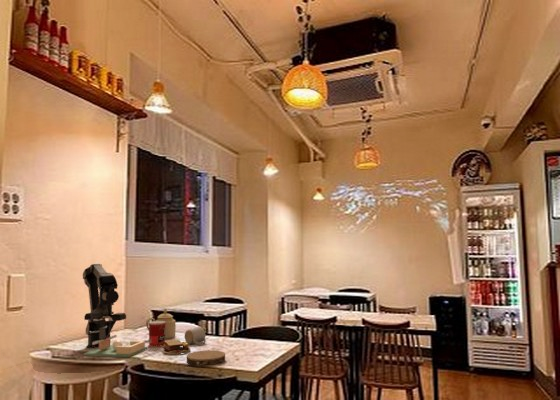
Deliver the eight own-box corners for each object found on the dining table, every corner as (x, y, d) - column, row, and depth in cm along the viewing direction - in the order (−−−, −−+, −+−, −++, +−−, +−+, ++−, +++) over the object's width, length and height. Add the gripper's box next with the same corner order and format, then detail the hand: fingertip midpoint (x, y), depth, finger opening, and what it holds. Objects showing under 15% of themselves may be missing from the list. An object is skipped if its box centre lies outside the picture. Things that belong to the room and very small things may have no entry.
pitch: (84, 355, 202) (84, 346, 202) (105, 347, 217) (105, 339, 218) (128, 357, 197) (128, 347, 197) (146, 349, 212) (146, 340, 213)
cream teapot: (160, 341, 231) (160, 311, 232) (144, 339, 236) (145, 310, 238) (179, 335, 244) (179, 307, 246) (164, 334, 249) (164, 306, 251)
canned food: (161, 346, 217) (161, 323, 219) (145, 346, 219) (146, 323, 220) (168, 343, 225) (168, 320, 226) (153, 342, 227) (153, 320, 228)
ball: (110, 351, 205) (110, 341, 206) (115, 348, 210) (116, 339, 210) (118, 351, 204) (119, 341, 205) (124, 349, 209) (124, 339, 209)
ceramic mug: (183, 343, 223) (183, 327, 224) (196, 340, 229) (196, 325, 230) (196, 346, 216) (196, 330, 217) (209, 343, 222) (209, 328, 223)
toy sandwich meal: (165, 357, 197) (166, 346, 198) (159, 351, 209) (159, 340, 210) (193, 353, 203) (193, 342, 203) (185, 348, 215) (185, 337, 215)
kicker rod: (90, 352, 201) (90, 330, 202) (112, 344, 217) (112, 324, 218) (96, 352, 200) (96, 330, 201) (117, 344, 216) (118, 324, 217)
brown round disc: (233, 361, 188) (233, 353, 189) (203, 369, 176) (203, 361, 177) (208, 355, 199) (208, 348, 199) (179, 362, 187) (179, 355, 187)
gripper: (77, 303, 205) (75, 338, 203) (113, 303, 201) (112, 339, 199) (92, 300, 216) (91, 333, 214) (127, 300, 212) (126, 334, 210)
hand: (104, 335), depth 209 cm, fingers closed on kicker rod, 3 cm apart
